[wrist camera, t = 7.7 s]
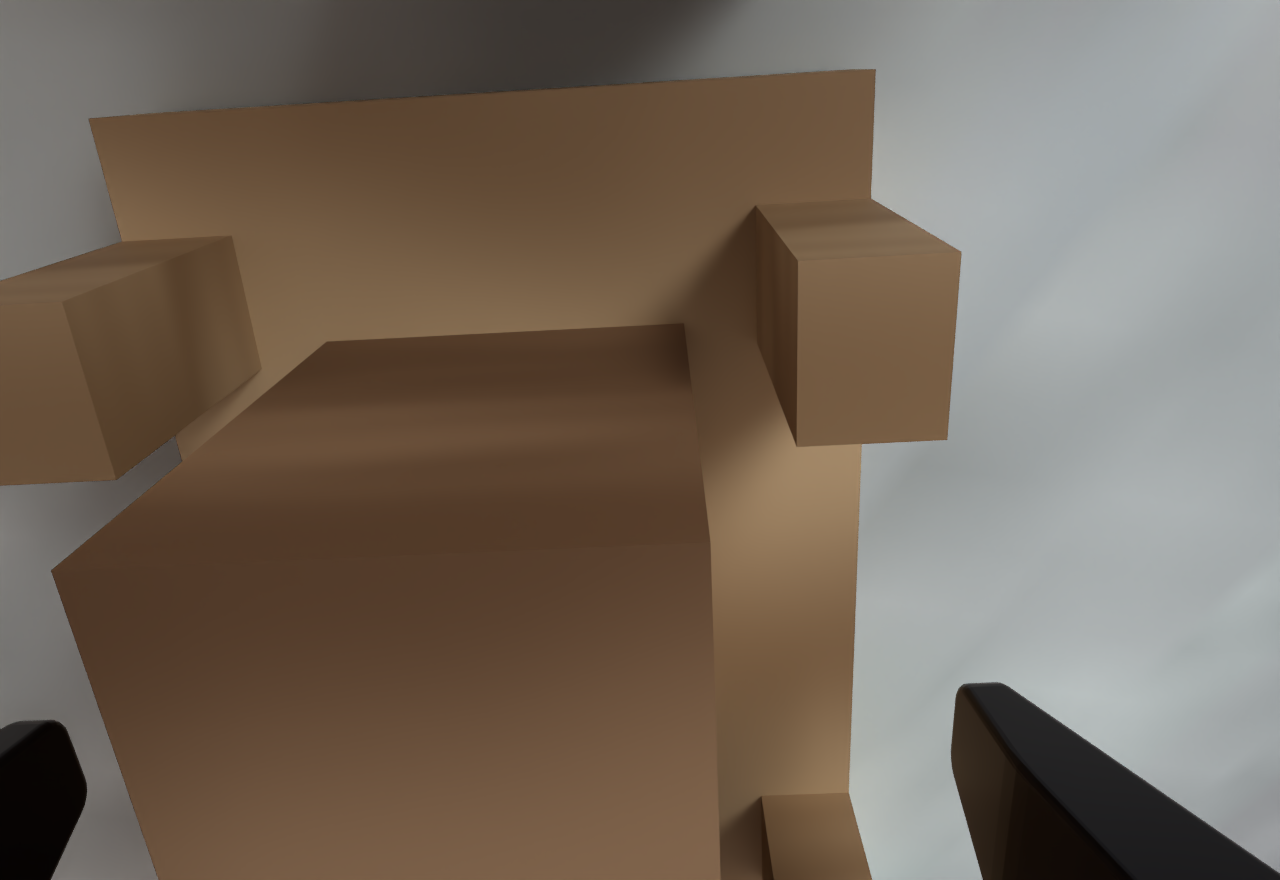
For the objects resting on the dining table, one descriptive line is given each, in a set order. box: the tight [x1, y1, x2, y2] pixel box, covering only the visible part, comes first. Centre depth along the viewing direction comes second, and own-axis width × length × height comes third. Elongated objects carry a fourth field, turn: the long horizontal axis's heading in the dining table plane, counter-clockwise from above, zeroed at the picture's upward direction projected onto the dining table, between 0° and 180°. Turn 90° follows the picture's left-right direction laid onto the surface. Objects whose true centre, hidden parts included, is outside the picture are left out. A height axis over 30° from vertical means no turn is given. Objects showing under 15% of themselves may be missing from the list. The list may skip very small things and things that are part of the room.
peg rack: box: [0, 69, 961, 880], centre depth 11 cm, size 12×8×4 cm, turn 3°
